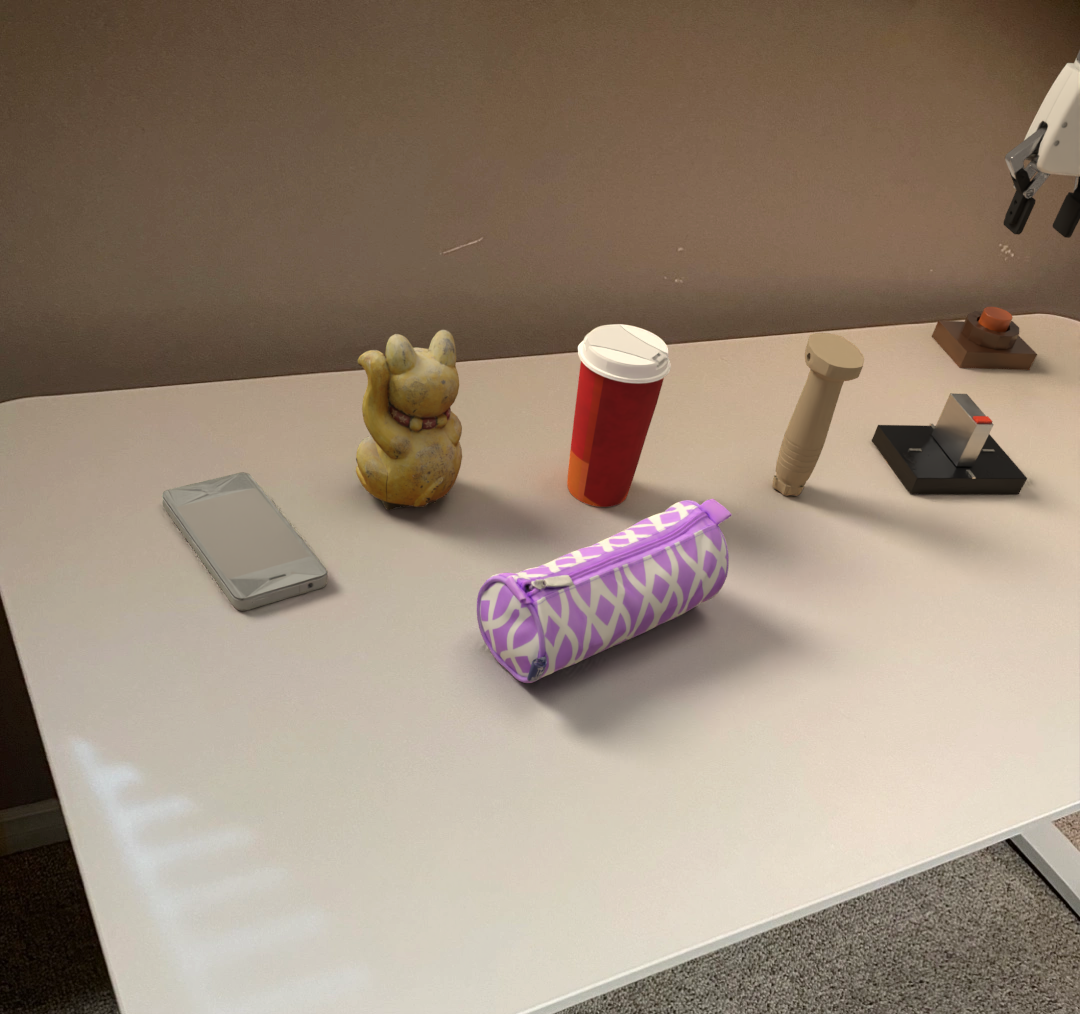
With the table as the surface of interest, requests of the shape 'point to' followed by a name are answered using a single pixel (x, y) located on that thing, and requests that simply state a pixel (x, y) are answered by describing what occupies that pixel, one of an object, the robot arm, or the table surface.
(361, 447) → the decorative figurine
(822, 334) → the handle
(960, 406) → the tap handle
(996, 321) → the button
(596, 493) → the coffee cup
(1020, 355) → the button block
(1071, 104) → the robot arm
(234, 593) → the phone
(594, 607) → the pencil case
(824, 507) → the table surface
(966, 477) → the base
